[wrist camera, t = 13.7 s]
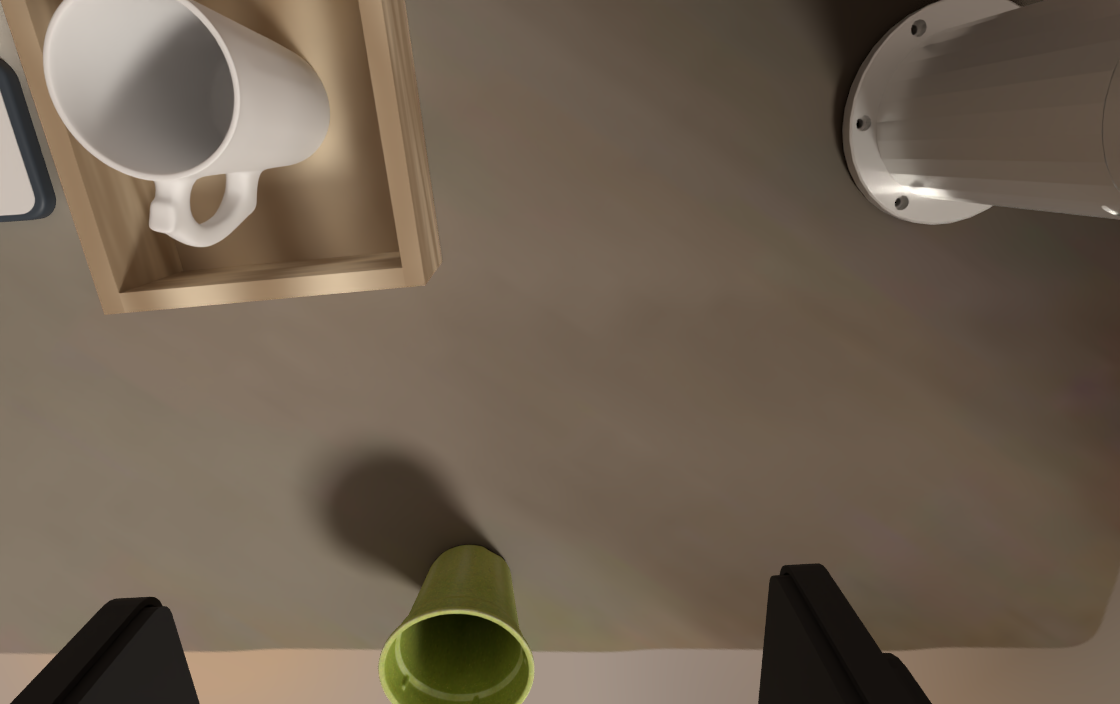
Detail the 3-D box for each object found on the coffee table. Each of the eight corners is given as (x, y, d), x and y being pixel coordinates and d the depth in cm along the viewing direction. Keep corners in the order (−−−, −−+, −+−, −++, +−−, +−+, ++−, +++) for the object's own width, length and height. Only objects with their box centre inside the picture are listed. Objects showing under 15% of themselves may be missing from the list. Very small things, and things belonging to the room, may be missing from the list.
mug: (211, 24, 32) (37, -48, 20) (342, 54, 33) (244, 2, 21) (204, 215, 35) (49, 246, 23) (324, 239, 35) (230, 280, 24)
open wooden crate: (399, -36, 32) (368, -84, 26) (442, 261, 37) (425, 285, 31) (94, -13, 32) (-19, -57, 25) (179, 285, 37) (104, 314, 30)
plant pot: (425, 640, 46) (404, 745, 38) (388, 539, 43) (357, 629, 35) (544, 614, 46) (549, 714, 38) (515, 511, 43) (514, 595, 35)
